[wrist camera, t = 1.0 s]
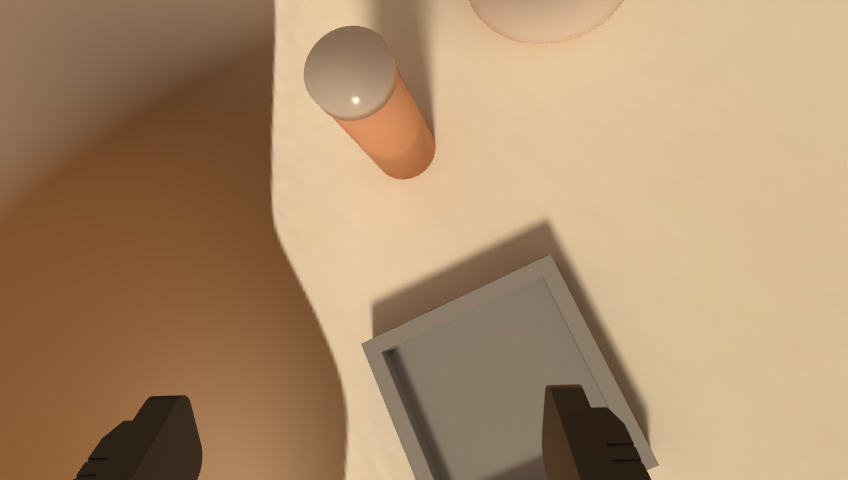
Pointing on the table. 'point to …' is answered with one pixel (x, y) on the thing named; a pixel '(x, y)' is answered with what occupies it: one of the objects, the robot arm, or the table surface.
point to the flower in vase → (544, 18)
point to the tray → (491, 377)
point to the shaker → (369, 100)
